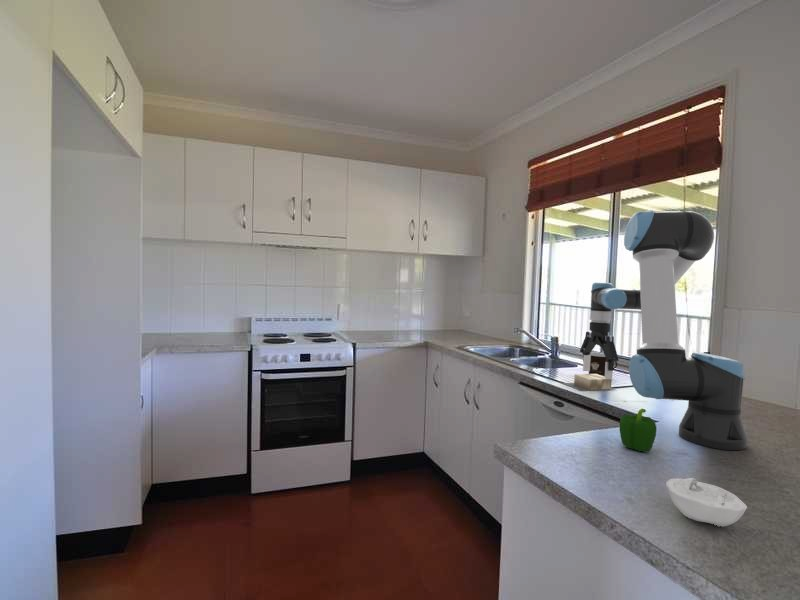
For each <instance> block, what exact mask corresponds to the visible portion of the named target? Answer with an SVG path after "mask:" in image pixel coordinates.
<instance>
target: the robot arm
mask: <svg viewBox="0 0 800 600" xmlns="http://www.w3.org/2000/svg"><path fill="white" fill-rule="evenodd" d="M624 231H625V232H624V237H623V240H624V241H623V245H624V247H625V250H627V251H629V252H631V251H632V259H633V260H635V261H636V262H637V263H638V270H639V272H638V273H639V288H619V287H618V288H617V287H615V288H614V285H613V283H610V282H593V283H592V285H591V291H590V292H591V296H590V311H589V312H590V313H589V321H590V322H589V331H586V332H585V337H584V339H583V342H582V344H581V347H580V348H579V351H580V353H582V356H583V358H582V363H583V364H582V365H583V366H582V372H589V371H590V359H591V354H590V353H592V351H593V349H594V348H595V347H596V345H597V346H599V347H600V348H601V349H602V352H603V354H605V357H606V359H607V361H606V364H605V379H612V380H613V371H614V369H613V368H614V367H615V366H614V365H615V362H619V356H618V353H617V352H618V351H617V349H616V345H615V339H614V338H615V337H614V335H608V334H609V333H610V332H611V323H610V322H611V318H612V310H636V311H637V310H640V312H641V313H640V314H641V315H640V317H641V335H642V336H641V337H642V343H641V344H640V346H638V347H637V349H636V354H634V355H632V356H631V357H630V359H629V365H628V372H629V373H628V374H629V379H630V383H631V384H632V386H633V388H634V390H635V391H636V393H637V394H638V395H639V396H641V397H643V398H647V399H654V400H655V399H656V400H675V401H688V402H687V409H686V411H685V413H684V414H683V415H684V416H683V417H682V419H681V421H680V424H679V426H678V435H679V436H680V437H681V438H683V439H685V440H686V441H689V442H691V443H694V444H697V445H700V446H704V447H707V448H713V449H717V450H718V449H719V450H725V451H742V450H746V448H747V447H748V436H747V434H746V433H747V432H746V430H745V427H744V423H743V421H742V417H741V416H742V403H743V391H744V389H743V388H744V381H745V367H744V365H743V363H742V362H740V361H739V360H736V359H733V358H728V357H724V356H720V355H716V354H710V353H704V352H699V351H697V352H696V351H693V352H691V355H690V357H687V356H686V349H685V348H684V346H681V344H679V333H678V319H677V318H678V317H677V301H676V284H677V282H678V281H679V280H680V279H682V277H683V276H684V275H685V274H686V272H687V271H688V270H689V269H690V268H691V267H692V265H693V264H695V262H698V261H701V260H702V259H703V258H705V256H706V255H707V254H708V253H709V252H710V251H711V250H712V249H711V248H712V247H713V244H714V240H715V231H714V227H713V225H712V223H711V221H710V220H709V219H708V218H707V217H706V216H704V215H703V214H701V213H699V212H696V211H692V210H684V211H683V210H682V211H679V210H676V211H674V210H654V209H651V210H640V211H636V212H635V213H633V215H632V216H631V217H630V218H629V221H628V222H627V225H626V228H625V230H624Z"/></svg>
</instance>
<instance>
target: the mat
mask: <svg viewBox="0 0 800 600" xmlns="http://www.w3.org/2000/svg"><path fill="white" fill-rule="evenodd" d="M562 385H565V386H568V387H570V388H572V389H575V390H576V391H579V392H592V391H593V392H595V391H597V392H599V391H616V389H615V388H612V387H611V389H599V390H588V389H585V388H583V387H580V386H578V385H575V384H574V382H562Z"/></svg>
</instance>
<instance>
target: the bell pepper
mask: <svg viewBox="0 0 800 600" xmlns="http://www.w3.org/2000/svg"><path fill="white" fill-rule="evenodd" d="M646 412H647V410H646V409H645V408H640V409H639V410H638V411H637V414H631V415H629V414H622V415H621V416H620V420H619V434H620V439H621V443H622V445H623V446H624V445H625V446H626V447H625V446H624V447H625V448H627V447H628V448H627V449H629V448H631V450H635V451H637V450H638V452H640V451H648V452H650V451H651V450H652V449H653V448H652V447H653V445H654V442H655V439H656V436H657V424H656V422H655V421H654V420H653V419H652V418H651V417H649V416H644V417H643V413H646Z"/></svg>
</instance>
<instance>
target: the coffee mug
mask: <svg viewBox="0 0 800 600" xmlns="http://www.w3.org/2000/svg"><path fill="white" fill-rule="evenodd" d="M590 354H591V359H590V371H588V374H598V375H601V376H604V377H605V364H606V361H607V359H606V357H605V354H604V353H597V352H590ZM614 364H615V366H614V368H613V370H614V369H616V368H617V367H618V361H616V362H614Z"/></svg>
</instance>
